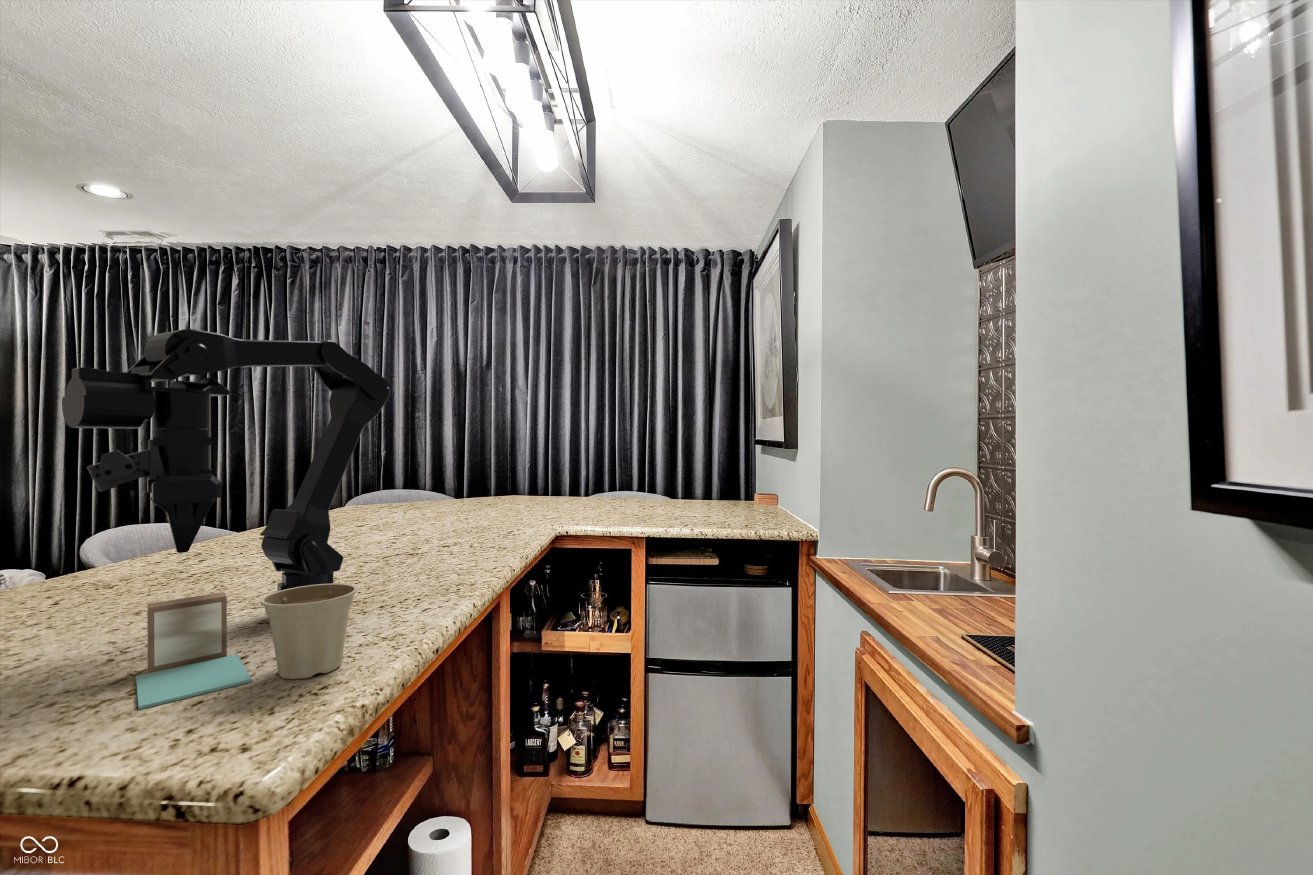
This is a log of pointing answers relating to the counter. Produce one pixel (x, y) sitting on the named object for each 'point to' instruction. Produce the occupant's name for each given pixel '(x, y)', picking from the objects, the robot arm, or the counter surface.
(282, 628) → the flower pot
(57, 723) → the counter surface
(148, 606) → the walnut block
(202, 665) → the teal mat
